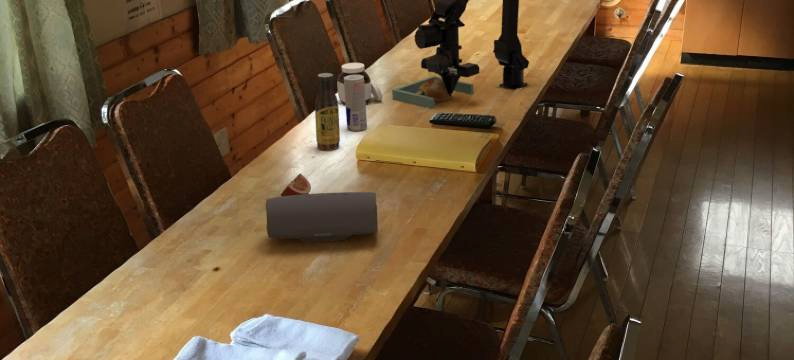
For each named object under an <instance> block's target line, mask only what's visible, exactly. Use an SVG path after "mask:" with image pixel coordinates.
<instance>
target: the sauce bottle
mask: <svg viewBox="0 0 794 360" xmlns="http://www.w3.org/2000/svg"><path fill="white" fill-rule="evenodd" d="M317 82H318V94H317V95H316V96H315V101H314V106H315V107H314V108H315V109H314V110H315V111H314V115H315V116H314V118H315V138H316V147H317V149H320V150H323V151H332V150H335V149H338V148H339V147H340V141H341V135H340V133H341V131H340V112H339V110H340V109H339V108H340V107H339V103H338V95H336V93H335V91H334V74H333V73H330V72H329V73H328V72H323V73H318V74H317Z"/></svg>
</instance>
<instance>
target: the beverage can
mask: <svg viewBox="0 0 794 360" xmlns="http://www.w3.org/2000/svg"><path fill="white" fill-rule="evenodd" d="M344 90H345V104H346V105H345V104H344V105H345V116H346V119H345V120H346V128H347V129H348V130H349V131H353V132H359V131H364V130H365V129H367V128H368V121H367V119H368V118H367V103H366V101H365V84H364V76H362V75H349V76H346V77H344Z"/></svg>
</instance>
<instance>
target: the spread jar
mask: <svg viewBox="0 0 794 360" xmlns="http://www.w3.org/2000/svg"><path fill="white" fill-rule="evenodd" d="M349 75H362V76H364V84H365V101H366V104H367V103H368V102H369V101H371V98H372V96H373V98H374V99H375V100H376V101H377V102H379V101H381V100H382V99H383V93H382V91H381V88H380V87H379V86H378V83H377V82H376V81H375V80H374V79H373V78H371V77H370V76H369V74H368V73H367V71H365V64H364V63H361V62H348V63H343V64H342V65H341V73H340V74H339V75H338V76H337V80H336V81H337V83H336V84H337V85H336V86H337V94H338V95H337V97H338V99H339V101H341V103H342V104H343V105H345V106H346V104H345V90H344V77H346V76H349Z"/></svg>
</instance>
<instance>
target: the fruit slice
mask: <svg viewBox="0 0 794 360" xmlns="http://www.w3.org/2000/svg"><path fill="white" fill-rule="evenodd" d="M311 189H312V186H311V183H310V181H309V180H308V179H307V178H306V177H305V176H304V175H303V174H302V173H299V174H298V175H297V176H296V177H295V178H294V179H293V180H291V181H290V183H288V184H287V186H286V187H284V189H283V191H282V192H281V194H280V197H282V196H292V195H303V194H310V192H311Z"/></svg>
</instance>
